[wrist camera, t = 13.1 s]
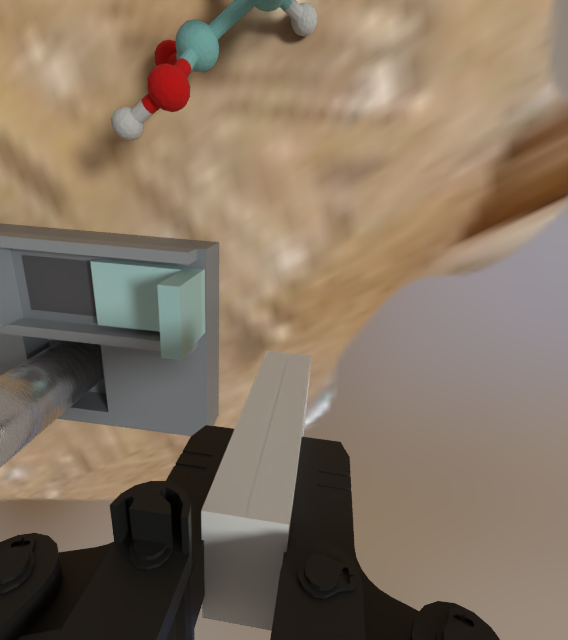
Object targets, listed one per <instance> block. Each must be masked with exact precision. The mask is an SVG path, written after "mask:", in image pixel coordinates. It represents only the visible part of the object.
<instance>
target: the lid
mask: <svg viewBox="0 0 568 640" xmlns="http://www.w3.org/2000/svg"><path fill="white" fill-rule="evenodd" d="M90 263H91V271H92V280H93V288H94V297H95V305H96V314H97V322H98V325H103V326H113V327H122V328H131V329H141V330H150V331H159V332H160V342H161V358H165V359H174V360H183V358H184V357H185V356H186V355H187V354H188V352H189V351H190V350H191V349H192V348H193V346H194V345H195V344H196V343H197V342H198V340H199V339H200V338H201V337H202V336H203V334H204V333H205V269H198V268H187V267H176V266H166V265H155V264H144V263H133V262H122V261H111V260H100V259H96V260H93V261H90Z"/></svg>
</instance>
